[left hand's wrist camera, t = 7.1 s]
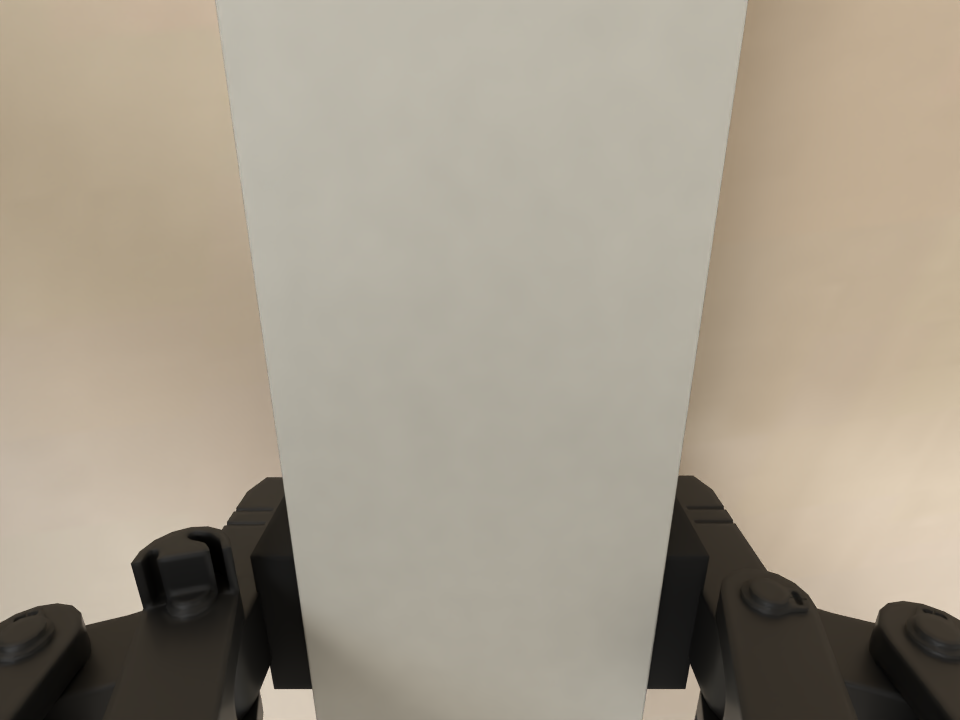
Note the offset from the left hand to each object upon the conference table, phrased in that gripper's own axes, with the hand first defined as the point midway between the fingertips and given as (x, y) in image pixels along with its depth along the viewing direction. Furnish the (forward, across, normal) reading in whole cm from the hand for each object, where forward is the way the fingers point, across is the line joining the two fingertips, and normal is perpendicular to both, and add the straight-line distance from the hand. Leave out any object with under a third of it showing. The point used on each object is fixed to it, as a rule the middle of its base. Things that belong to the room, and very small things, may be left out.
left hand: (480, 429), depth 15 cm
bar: (+1, 0, -29) cm, 29 cm away
